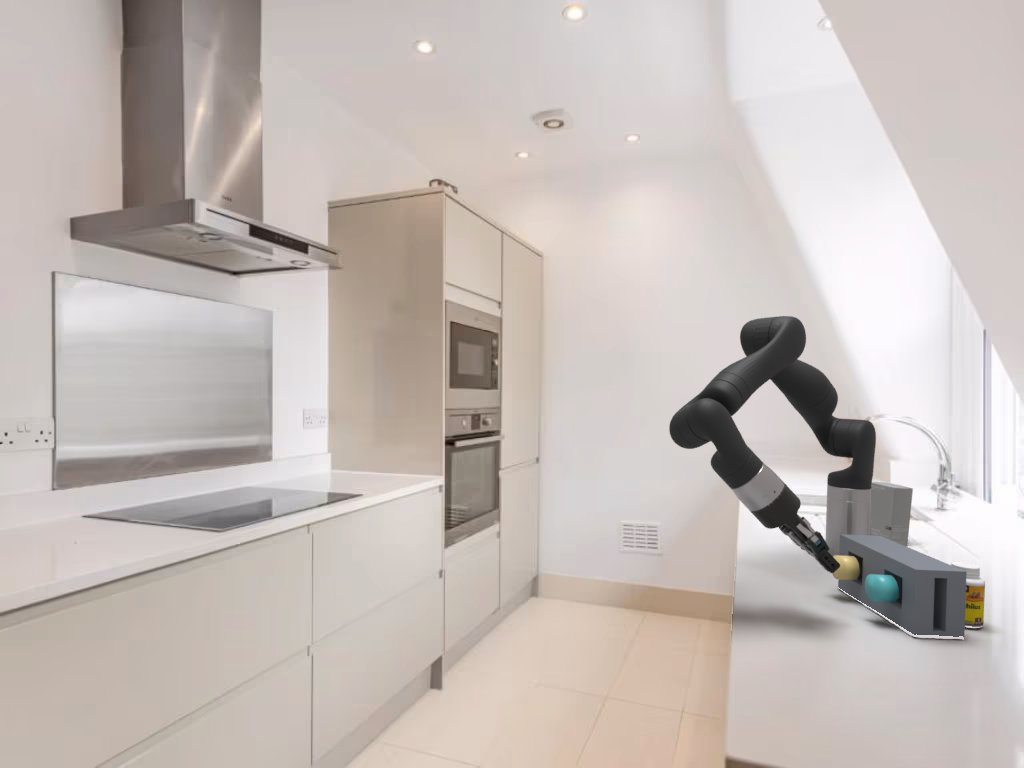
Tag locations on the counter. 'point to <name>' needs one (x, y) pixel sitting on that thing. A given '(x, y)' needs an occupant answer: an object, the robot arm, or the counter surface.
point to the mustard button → (847, 568)
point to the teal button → (881, 588)
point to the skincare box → (891, 511)
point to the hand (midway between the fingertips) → (834, 568)
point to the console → (909, 585)
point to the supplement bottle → (973, 594)
